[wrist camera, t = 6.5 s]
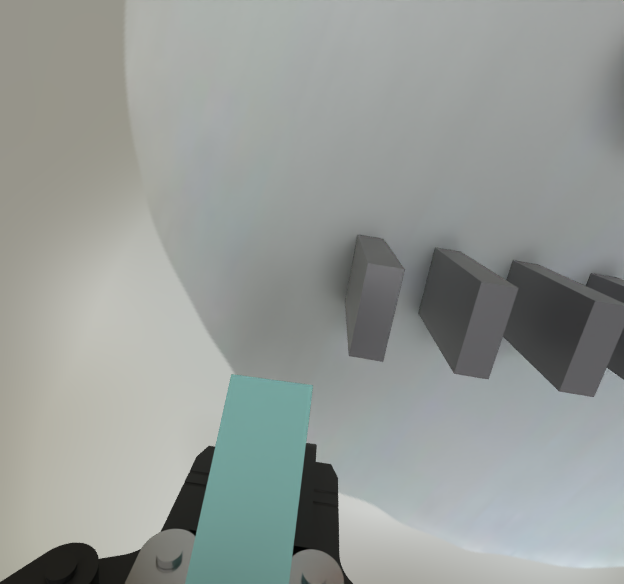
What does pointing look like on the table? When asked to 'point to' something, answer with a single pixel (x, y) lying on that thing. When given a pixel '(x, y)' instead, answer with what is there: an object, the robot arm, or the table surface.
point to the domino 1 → (253, 485)
